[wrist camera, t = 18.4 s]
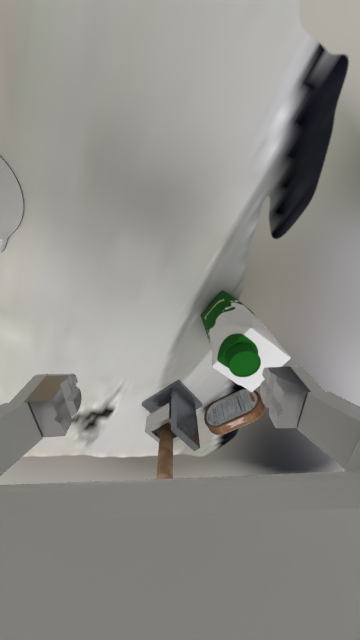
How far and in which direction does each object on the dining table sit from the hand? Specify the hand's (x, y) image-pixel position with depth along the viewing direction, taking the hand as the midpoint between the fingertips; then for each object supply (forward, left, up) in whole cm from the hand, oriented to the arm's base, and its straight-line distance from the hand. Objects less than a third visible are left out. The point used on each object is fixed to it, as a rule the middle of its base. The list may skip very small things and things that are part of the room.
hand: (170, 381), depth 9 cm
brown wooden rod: (-3, -37, -30) cm, 48 cm away
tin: (+13, -35, -34) cm, 51 cm away
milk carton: (+10, -11, -34) cm, 38 cm away
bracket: (-2, -36, -34) cm, 50 cm away
